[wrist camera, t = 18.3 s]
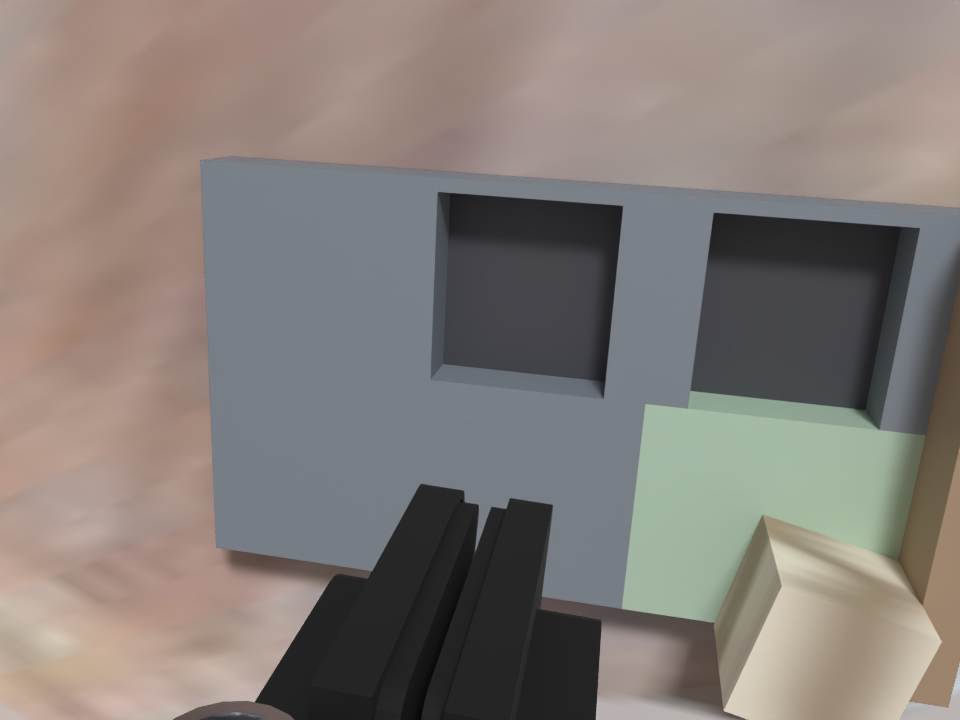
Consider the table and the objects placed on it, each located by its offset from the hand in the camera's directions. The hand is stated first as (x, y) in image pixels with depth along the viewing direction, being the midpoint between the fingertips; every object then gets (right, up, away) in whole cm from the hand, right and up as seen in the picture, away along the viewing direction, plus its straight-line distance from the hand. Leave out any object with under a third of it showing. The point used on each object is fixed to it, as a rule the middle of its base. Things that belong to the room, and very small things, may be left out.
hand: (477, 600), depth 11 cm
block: (+12, -6, +21) cm, 25 cm away
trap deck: (+4, +2, +23) cm, 24 cm away
